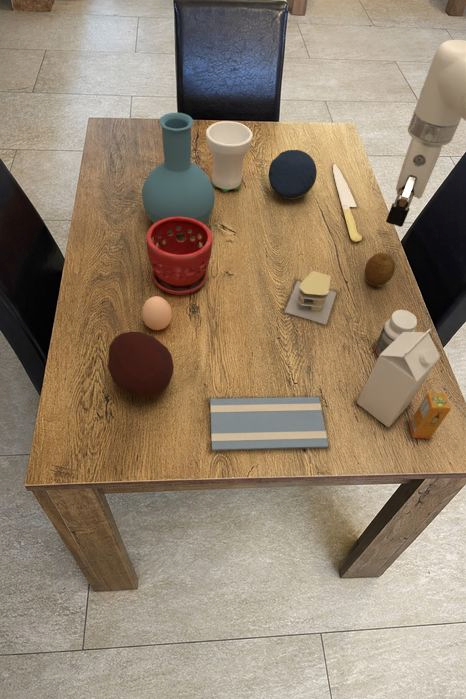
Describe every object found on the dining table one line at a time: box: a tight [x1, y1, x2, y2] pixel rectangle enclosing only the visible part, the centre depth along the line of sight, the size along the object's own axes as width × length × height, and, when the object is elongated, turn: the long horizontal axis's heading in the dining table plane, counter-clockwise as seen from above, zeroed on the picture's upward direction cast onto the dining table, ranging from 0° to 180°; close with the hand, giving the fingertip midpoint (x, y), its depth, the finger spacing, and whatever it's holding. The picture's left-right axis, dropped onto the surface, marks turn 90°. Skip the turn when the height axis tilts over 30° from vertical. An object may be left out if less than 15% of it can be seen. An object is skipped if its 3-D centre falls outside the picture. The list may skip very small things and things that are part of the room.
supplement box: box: [408, 392, 452, 440], centre depth 86 cm, size 3×3×10 cm
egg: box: [141, 295, 173, 331], centre depth 98 cm, size 6×6×8 cm
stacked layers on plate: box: [284, 270, 337, 326], centre depth 105 cm, size 10×9×6 cm
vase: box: [141, 112, 216, 236], centre depth 111 cm, size 16×16×25 cm
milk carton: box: [356, 328, 441, 428], centre depth 85 cm, size 7×7×19 cm
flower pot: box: [146, 217, 213, 295], centre depth 104 cm, size 13×13×12 cm
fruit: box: [363, 252, 396, 287], centre depth 109 cm, size 6×6×8 cm
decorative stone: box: [268, 149, 318, 200], centre depth 126 cm, size 12×12×10 cm
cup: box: [205, 120, 254, 193], centre depth 125 cm, size 11×11×14 cm
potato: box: [107, 331, 175, 399], centre depth 88 cm, size 11×13×10 cm
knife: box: [332, 163, 363, 243], centre depth 129 cm, size 1×33×4 cm
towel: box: [209, 396, 329, 452], centre depth 88 cm, size 20×10×1 cm, turn 93°
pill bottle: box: [374, 309, 418, 357], centre depth 96 cm, size 6×6×10 cm
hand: (399, 209), depth 98 cm, fingers open, 9 cm apart
